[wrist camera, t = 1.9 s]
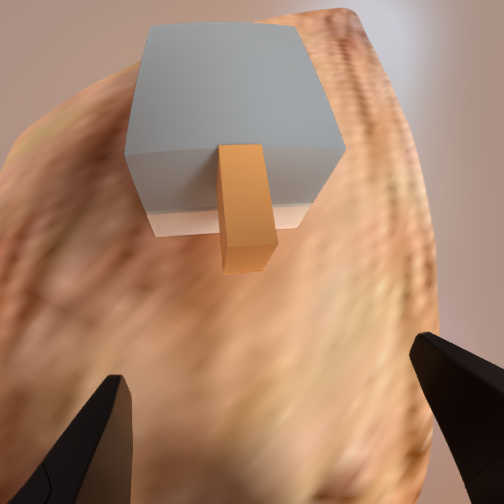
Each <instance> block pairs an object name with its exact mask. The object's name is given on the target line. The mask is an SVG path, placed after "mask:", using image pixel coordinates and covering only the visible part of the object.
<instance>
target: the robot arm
mask: <svg viewBox="0 0 504 504" xmlns="http://www.w3.org/2000/svg"><path fill="white" fill-rule="evenodd" d="M409 356H410V360H411V362H412V365H413V367H414V370H415V372H416V375H417V378H418V380H419V383H420V385H421V388H422V391H423V393H424V395H425V397H426V400H427V402H428V404H429V406H430V408H431V410H432V412H433V414H434V416H435V418H436V420H437V422H438V424H439V427H440V429H441V431H442V433H443V435H444V437H445V440H446V442H447V444H448V446H449V449H450V451H451V453H452V455H453V458H454V460H455V463H456V465H457V467H458V469H459V472H460V475H461V477H462V480H463V482H464V484H465V488H466V490H467V493H468V496H469V498H470V501H471V504H504V369H502V368H500V367H498V366H496V365H494V364H492V363H491V362H489V361H486V360H484V359H483V358H480V357H478V356H477V355H475V354H472V353H471V352H468V351H467V350H465V349H462V348H460V347H459V346H456V345H454V344H452V343H450V342H448V341H446V340H444V339H442V338H440V337H438V336H436V335H434V334H432V333H430V332H423V333H419V334H418V335H417V336H416V337H415V340H414V342H413V345H412V347H411V350H410V353H409ZM132 455H133V433H132V398H131V393H130V391H129V388H128V386H127V384H126V381H125V379H124V377H123V376H122V375H108V376H107V377H106V378H105V379H104V381H103V382H102V383H101V384H100V386H99V387H98V388H97V390H96V391H95V392H94V393H93V395H92V396H91V397H90V398H89V400H88V401H87V402H86V404H85V405H84V406H83V407H82V409H81V410H80V411H79V413H78V414H77V415H76V417H75V418H74V419H73V420H72V422H71V423H70V424H69V426H68V427H67V428H66V430H65V431H64V432H63V434H62V435H61V436H60V438H59V439H58V440H57V442H56V443H55V444H54V446H53V447H52V448H51V450H50V451H49V452H48V454H47V455H46V456H45V458H44V459H43V462H41V463H40V464H39V466H38V467H37V468H36V470H35V471H34V472H33V474H32V475H31V476H30V478H29V479H28V480H27V482H26V483H25V484H24V485H23V486H22V487H21V489H20V490H19V491H18V492H17V493H16V494H15V495H14V497H13V498H12V499H11V500H10V501H9V502H8V503H7V504H130V497H131V472H132Z"/></svg>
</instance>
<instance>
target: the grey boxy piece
mask: <svg viewBox="0 0 504 504" xmlns="http://www.w3.org/2000/svg"><path fill="white" fill-rule="evenodd" d="M345 151H346V147H345V144H344V141H343V139H342V136H341V133H340V130H339V128H338V125H337V122H336V120H335V117H334V114H333V112H332V109H331V107H330V104H329V101H328V99H327V97H326V94H325V92H324V89H323V87H322V84H321V82H320V80H319V77H318V75H317V73H316V70H315V68H314V66H313V64H312V62H311V59H310V57H309V55H308V53H307V51H306V49H305V46H304V44H303V42H302V40H301V38H300V36H299V34H298V32H297V30H296V28H295V27H294V26H285V25H275V24H262V23H243V22H199V23H179V24H166V25H157V26H151V27H150V30H149V34H148V37H147V41H146V45H145V49H144V53H143V56H142V60H141V65H140V69H139V73H138V78H137V82H136V87H135V92H134V97H133V102H132V107H131V112H130V118H129V124H128V130H127V137H126V143H125V151H124V157H125V160H126V163H127V165H128V168H129V171H130V174H131V176H132V179H133V182H134V184H135V187H136V190H137V192H138V195H139V197H140V200H141V202H142V205H143V208H144V210H145V212H150V211H162V210H175V209H189V208H205V207H218V218H219V230H220V242H221V253H222V264H223V274H234V273H247V272H259V271H263V269H264V267H265V265H266V264H267V262H268V260H269V259H270V257H271V255H272V253H273V252H274V250H275V248H276V247H277V245H278V240H277V233H276V227H275V221H274V215H273V209H272V204H290V203H313V202H314V200H315V199H316V197H317V195H318V194H319V192H320V191H321V189H322V188H323V186H324V184H325V183H326V181H327V180H328V178H329V176H330V175H331V173H332V172H333V170H334V168H335V167H336V165H337V164H338V162H339V160H340V159H341V157H342V156H343V154H344V152H345Z"/></svg>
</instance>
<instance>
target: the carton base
mask: <svg viewBox="0 0 504 504" xmlns="http://www.w3.org/2000/svg"><path fill="white" fill-rule="evenodd" d="M310 207H311V206H310V203H290V204H272V209H273V215H274V221H275V227H276V229H293V228H297V227H298V225H299V224H300V222H301V221H302V219H303V217H304V216H305V214H306V213H307V211H308V210H309V208H310ZM147 217H148V220H149V222H150V225H151V227H152V230H153V232H154V234H155V237H166V236H180V235H194V234H209V233H220V230H219V218H218V207H205V208H189V209H175V210H162V211H150V212H147Z"/></svg>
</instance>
